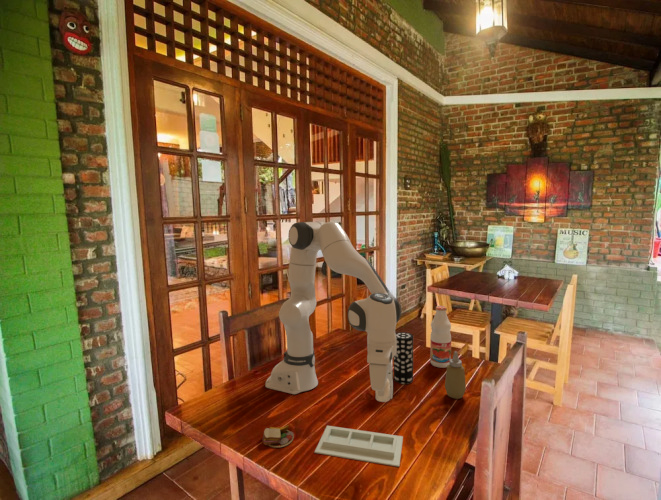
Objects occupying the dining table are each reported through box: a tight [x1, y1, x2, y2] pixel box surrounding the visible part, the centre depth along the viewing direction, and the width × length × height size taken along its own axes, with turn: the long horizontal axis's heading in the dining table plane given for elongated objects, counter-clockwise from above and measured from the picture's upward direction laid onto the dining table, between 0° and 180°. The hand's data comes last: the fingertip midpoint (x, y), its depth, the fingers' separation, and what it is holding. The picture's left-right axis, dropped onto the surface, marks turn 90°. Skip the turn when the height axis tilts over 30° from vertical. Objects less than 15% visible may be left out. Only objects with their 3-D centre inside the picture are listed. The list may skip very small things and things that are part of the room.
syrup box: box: [387, 359, 394, 400], centre depth 146 cm, size 6×6×14 cm
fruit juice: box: [429, 305, 452, 369], centre depth 173 cm, size 9×9×28 cm
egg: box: [374, 378, 391, 403], centre depth 112 cm, size 4×4×7 cm
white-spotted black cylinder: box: [393, 331, 414, 385], centre depth 158 cm, size 8×8×20 cm
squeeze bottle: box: [444, 351, 467, 400], centre depth 144 cm, size 8×8×18 cm
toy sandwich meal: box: [262, 424, 295, 449], centre depth 120 cm, size 9×10×4 cm
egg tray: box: [314, 425, 404, 468], centre depth 116 cm, size 26×14×2 cm, turn 74°
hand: (382, 390), depth 112 cm, fingers closed on egg, 4 cm apart
